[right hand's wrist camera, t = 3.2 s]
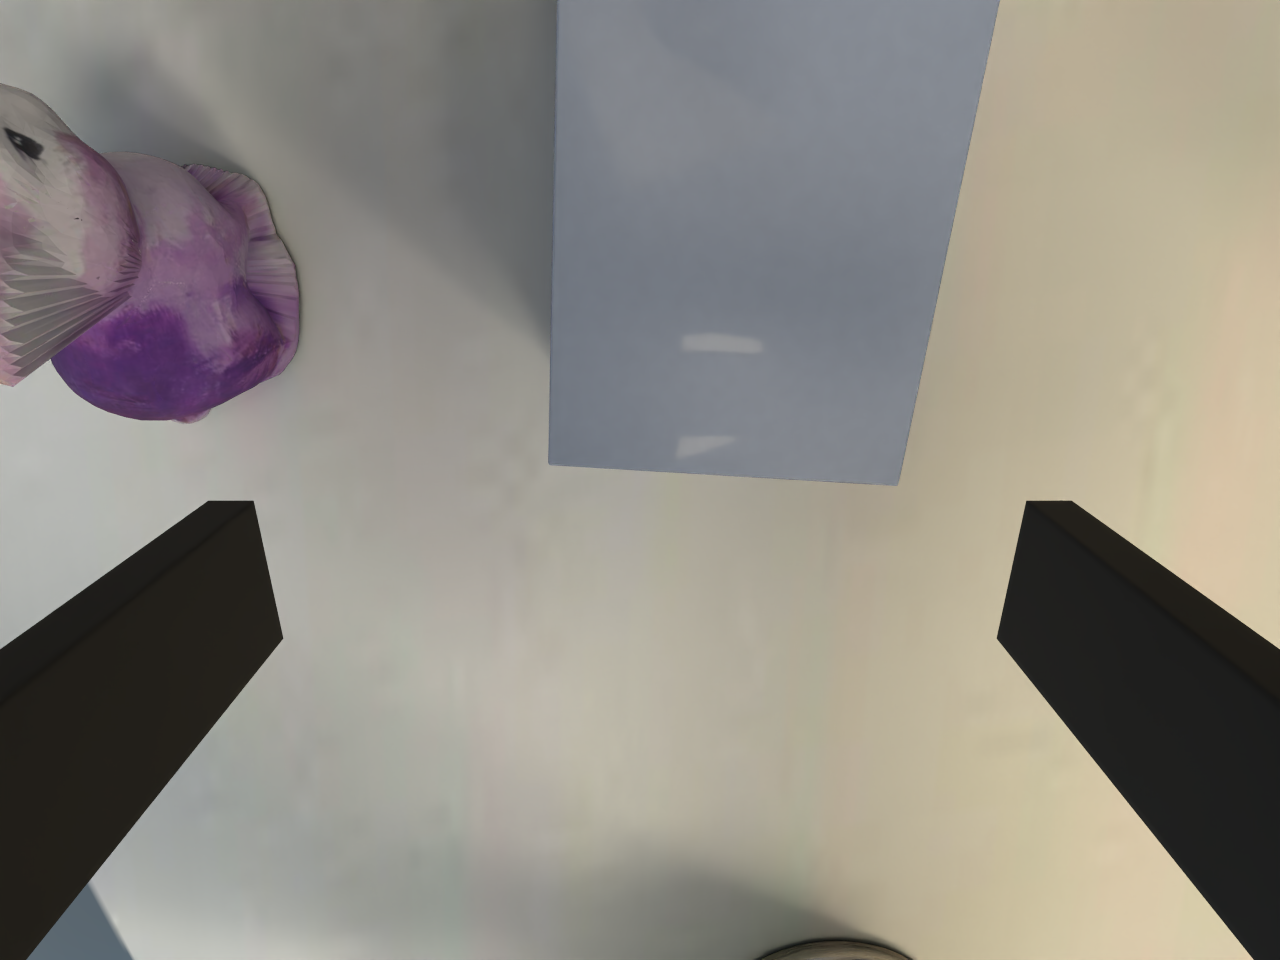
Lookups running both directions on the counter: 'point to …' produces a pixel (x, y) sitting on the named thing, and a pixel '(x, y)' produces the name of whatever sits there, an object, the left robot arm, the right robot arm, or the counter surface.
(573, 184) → the cabinet
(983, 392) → the counter surface
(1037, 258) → the counter surface
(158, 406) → the figurine
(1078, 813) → the counter surface
